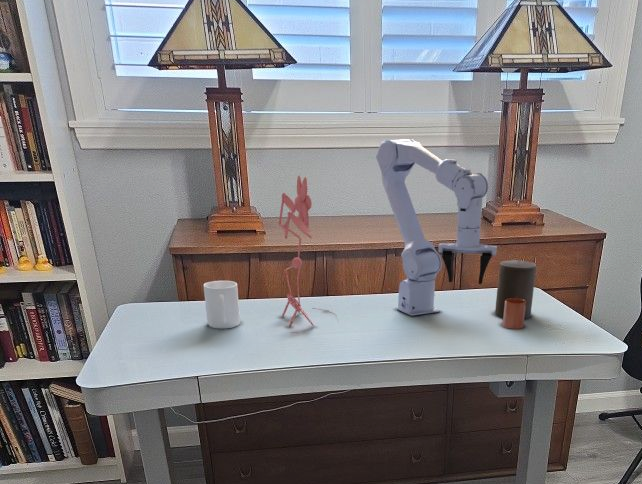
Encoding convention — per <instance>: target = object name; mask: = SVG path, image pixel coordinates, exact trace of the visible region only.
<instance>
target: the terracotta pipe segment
mask: <svg viewBox="0 0 642 484" xmlns="http://www.w3.org/2000/svg"><path fill="white" fill-rule="evenodd" d="M525 309H526V301H525V300H523V299H517V298H510V299H506V300H505V305H504V314H503V317H502V326H503V327H504V328H506V329H512V330H518V329H523V328H524V325H525V319H524V317H525Z"/></svg>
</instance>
